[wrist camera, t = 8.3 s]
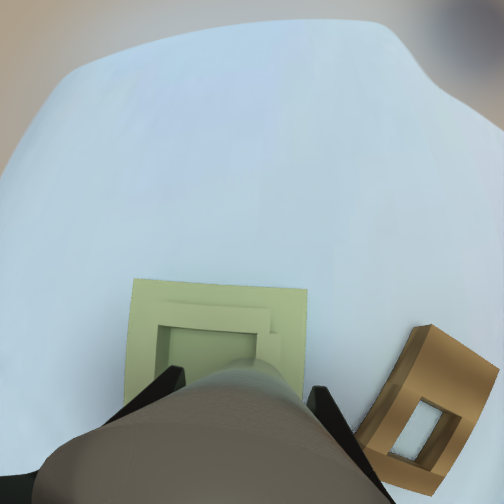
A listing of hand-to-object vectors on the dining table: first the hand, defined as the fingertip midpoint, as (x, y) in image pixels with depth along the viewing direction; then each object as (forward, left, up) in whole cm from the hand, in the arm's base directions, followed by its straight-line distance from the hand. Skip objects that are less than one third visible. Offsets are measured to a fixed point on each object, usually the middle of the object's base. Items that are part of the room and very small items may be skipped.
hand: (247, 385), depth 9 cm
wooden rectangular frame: (+10, -11, -13) cm, 20 cm away
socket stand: (-3, 0, -13) cm, 14 cm away
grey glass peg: (-1, -1, -7) cm, 7 cm away
